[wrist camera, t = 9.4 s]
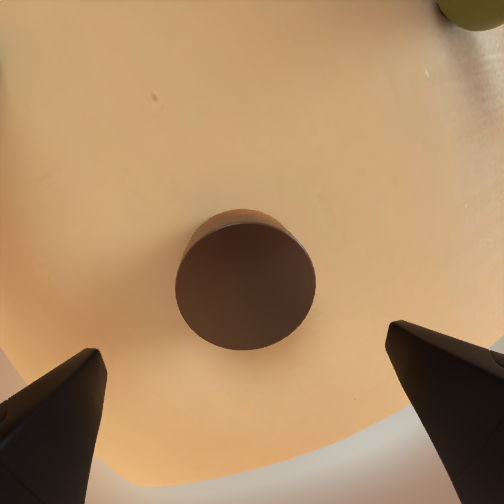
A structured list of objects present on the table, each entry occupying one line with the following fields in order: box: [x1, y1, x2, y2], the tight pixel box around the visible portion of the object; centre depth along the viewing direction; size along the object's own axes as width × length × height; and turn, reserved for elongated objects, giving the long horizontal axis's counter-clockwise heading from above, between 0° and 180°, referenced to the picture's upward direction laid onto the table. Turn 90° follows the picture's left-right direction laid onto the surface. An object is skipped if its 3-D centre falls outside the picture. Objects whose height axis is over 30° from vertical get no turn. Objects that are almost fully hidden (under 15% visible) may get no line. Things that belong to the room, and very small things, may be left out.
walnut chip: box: [175, 214, 316, 350], centre depth 15 cm, size 7×7×2 cm
